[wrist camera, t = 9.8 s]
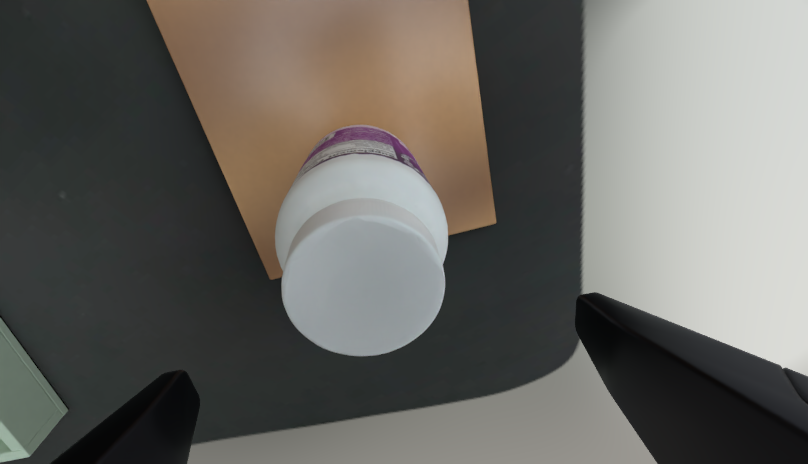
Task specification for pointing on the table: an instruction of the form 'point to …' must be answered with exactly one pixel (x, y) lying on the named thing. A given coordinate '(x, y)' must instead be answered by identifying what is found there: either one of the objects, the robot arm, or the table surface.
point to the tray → (23, 401)
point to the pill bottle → (361, 244)
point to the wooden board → (331, 93)
